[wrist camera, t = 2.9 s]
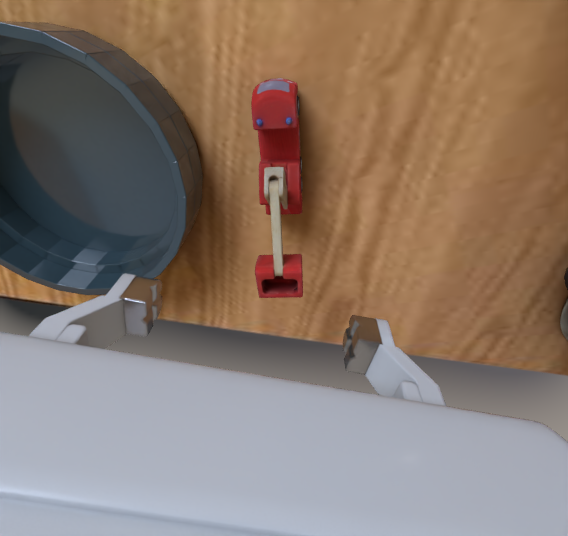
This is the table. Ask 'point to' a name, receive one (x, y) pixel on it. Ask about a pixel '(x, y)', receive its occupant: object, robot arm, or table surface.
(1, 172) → the bowl
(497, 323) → the table surface
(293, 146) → the toy fire truck
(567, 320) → the toy character
